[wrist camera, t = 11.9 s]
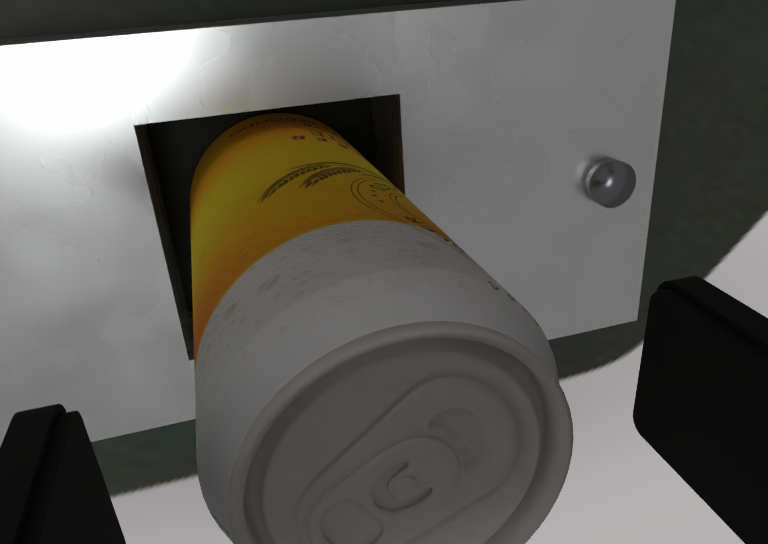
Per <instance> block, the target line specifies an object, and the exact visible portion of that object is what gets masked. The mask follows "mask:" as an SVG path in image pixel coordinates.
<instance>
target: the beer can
mask: <svg viewBox="0 0 768 544" xmlns="http://www.w3.org/2000/svg"><path fill="white" fill-rule="evenodd" d="M190 225H191V261H192V298H193V335H194V372H195V409H196V446H197V467H198V478H199V482H200V486H201V490H202V494H203V497H204V499H205V502H206V504H207V507H208V509H209V511H210V513H211V515H212V516H213V518H214V519H215V521H216V523H217V524H218V526H219V527H220V528H221V530H222V531H223V532H224V533H225V534H226V535H227V536H228V538H229V539H230V540H231V541H232V542H233V543H234V544H525V543H526V542H527V541H528V540H529V539H530V538H531V536H532V535H533V534H534V533H535V531H536V530H537V529H538V528H539V527H540V525H541V524H542V522H543V521H544V519H545V518H546V517H547V515H548V514H549V512H550V510H551V508H552V507H553V505H554V503H555V502H556V500H557V498H558V495H559V493H560V491H561V489H562V487H563V484H564V482H565V479H566V476H567V473H568V470H569V465H570V460H571V456H572V447H573V425H572V418H571V413H570V409H569V405H568V403H567V400H566V397H565V394H564V392H563V390H562V388H561V387H560V385H559V378H558V372H557V367H556V363H555V358H554V355H553V352H552V349H551V347H550V344H549V341H548V340H547V338H546V336H545V334H544V332H543V330H542V329H541V327H540V326H539V324H538V323H537V322H536V320H535V319H534V318H533V316H532V315H531V314H530V313H529V312H528V311H527V310H526V309H525V308H524V307H523V306H522V305H521V304H520V303H519V302H518V301H517V300H516V299H515V298H514V297H513V296H512V295H511V294H509V293H508V292H507V291H506V290H505V289H504V288H503V287H502V286H501V285H500V284H499V283H498V282H497V281H496V280H494V279H493V278H492V277H491V276H490V275H489V274H488V273H487V272H486V271H485V270H484V269H483V268H482V267H481V266H480V265H478V264H477V263H476V262H475V261H474V260H473V259H472V258H471V257H470V256H469V255H468V254H467V253H466V252H465V251H463V250H462V249H461V248H460V247H459V246H458V245H457V244H456V243H455V242H454V241H453V240H452V239H451V238H450V237H449V236H447V235H446V234H445V233H444V232H443V231H442V230H441V229H440V228H439V227H438V226H437V225H436V224H435V223H434V222H432V221H431V220H430V219H429V218H428V217H427V216H426V215H425V214H424V213H423V212H422V211H421V210H420V209H419V208H418V207H416V206H415V205H414V204H413V203H412V202H411V201H410V200H409V199H408V198H407V197H406V196H405V195H404V194H403V193H401V192H400V191H399V190H398V189H397V188H396V187H395V186H394V185H393V184H392V183H391V182H390V181H389V180H388V179H387V178H385V177H384V176H383V175H382V174H381V173H380V172H379V171H378V170H377V169H376V168H375V167H374V166H373V165H372V164H370V163H369V162H368V161H367V160H366V159H365V158H364V157H363V156H362V155H361V154H360V153H359V152H358V151H357V150H356V149H354V148H353V147H352V146H351V145H350V144H349V143H348V142H347V141H346V140H345V139H344V138H343V137H342V136H341V135H339V134H338V133H337V132H336V131H334V130H333V129H332V128H330V127H329V126H327V125H325V124H323V123H322V122H319V121H317V120H315V119H313V118H310V117H306V116H303V115H298V114H292V113H269V114H263V115H258V116H255V117H252V118H248V119H246V120H244V121H242V122H239V123H237V124H236V125H234V126H232V127H231V128H229V129H227V130H226V131H225V132H224V133H222V134H221V135H220V136H219V137H218V138H217V139H216V140H215V141H214V142H213V143H212V144H211V145H210V146H209V147H208V149H207V150H206V151H205V153H204V154H203V156H202V158H201V159H200V161H199V163H198V165H197V168H196V170H195V173H194V176H193V179H192V184H191V190H190Z"/></svg>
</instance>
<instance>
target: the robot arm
mask: <svg viewBox="0 0 768 544" xmlns="http://www.w3.org/2000/svg"><path fill="white" fill-rule="evenodd" d="M633 419H634V424H635V427H636V429H637V430H638V432H639V434H640V435H641V436H642V437H643V438H644V439H645V440H646V441H647V442H648V443H649V444H650V445H651V446H652V447H653V448H654V450H655V451H656V452H657V453H658V454H659V455H660V456H661V457H662V458H663V459H664V460H665V461H666V462H667V463H668V464H669V465H670V466H671V467H672V468H673V469H674V470H675V471H676V472H677V473H678V474H679V475H680V476H681V477H682V479H683V480H684V481H685V482H686V483H687V484H688V485H689V486H690V487H691V488H692V489H693V490H694V491H695V492H696V493H697V494H698V495H699V496H700V497H701V498H702V499H703V500H704V501H705V502H706V503H707V504H708V505H709V506H710V508H711V509H712V510H713V511H714V512H715V513H716V514H717V515H718V516H719V517H720V518H721V519H722V520H723V521H724V522H725V523H726V524H727V525H728V526H729V527H730V528H731V529H732V530H733V532H734V533H735V534H736V535H737V536H738V537H739V538H740V539H741V540H742V541H743V542H744V543H745V544H768V318H766V317H765V316H763V315H761V314H760V313H758V312H756V311H755V310H753V309H751V308H749V307H748V306H746V305H745V304H743V303H741V302H740V301H738V300H736V299H735V298H733V297H731V296H730V295H728V294H727V293H725V292H723V291H721V290H720V289H718V288H717V287H715V286H713V285H712V284H710V283H708V282H707V281H705V280H704V279H702V278H700V277H697V276H690V277H685V278H680V279H675V280H670V281H665V282H663V283H661V284H660V286H659V287H658V288H657V292H655V293H653V295H652V296H651V299H650V304H649V310H648V317H647V324H646V330H645V337H644V344H643V350H642V357H641V364H640V370H639V377H638V384H637V391H636V397H635V404H634V410H633ZM0 544H126V542H125V539H124V536H123V533H122V530H121V527H120V525H119V522H118V519H117V516H116V513H115V510H114V507H113V504H112V502H111V499H110V496H109V493H108V490H107V487H106V484H105V482H104V479H103V476H102V473H101V470H100V467H99V464H98V461H97V459H96V456H95V453H94V450H93V447H92V444H91V441H90V439H89V436H88V433H87V430H86V427H85V424H84V421H83V419H82V416H81V414H80V413H79V411H71V412H66V409H65V408H64V407H63V405H61V404H54V405H49V406H44V407H39V408H34V409H29V410H24V411H19V412H17V413H15V414H14V416H13V417H12V419H11V422H10V424H9V427H8V429H7V432H6V434H5V437H4V439H3V442H2V444H1V447H0Z"/></svg>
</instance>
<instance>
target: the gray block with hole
mask: <svg viewBox="0 0 768 544" xmlns="http://www.w3.org/2000/svg"><path fill="white" fill-rule="evenodd" d="M675 2H676V0H454V1H442V2H431V3H419V4H407V5H396V6H384V7H372V8H360V9H349V10H337V11H325V12H313V13H302V14H290V15H278V16H267V17H255V18H243V19H231V20H220V21H208V22H196V23H184V24H173V25H161V26H149V27H138V28H126V29H114V30H102V31H91V32H79V33H67V34H55V35H44V36H32V37H20V38H9V39H0V447H1V444H2V442H3V439H4V437H5V434H6V432H7V429H8V427H9V424H10V422H11V419H12V417H13V416H14V414H15V413H17V412H19V411H24V410H29V409H34V408H39V407H44V406H49V405H54V404H61V405H63V407H64V408H65V409H66V412H71V411H79V413H80V414H81V416H82V419H83V421H84V424H85V427H86V430H87V433H88V436H89V439H90V441H91V442H93V441H98V440H102V439H107V438H111V437H115V436H120V435H124V434H129V433H133V432H138V431H142V430H147V429H151V428H156V427H160V426H165V425H169V424H174V423H178V422H183V421H187V420H192V419H196V409H195V372H194V335H193V311H188V307H187V303H186V298H185V294H184V289H183V285H182V281H181V276H180V272H179V267H178V263H177V259H176V254H175V250H174V245H173V241H172V237H171V232H170V228H169V223H168V219H167V215H166V210H165V206H164V201H163V197H162V193H161V188H160V184H159V179H158V175H157V171H156V166H155V162H154V157H153V153H152V149H151V144H150V140H149V135H148V131H147V127H146V124H148V123H156V122H165V121H173V120H182V119H190V118H198V117H207V116H215V115H224V114H232V113H241V112H249V111H258V110H266V109H274V108H283V107H291V106H300V105H308V104H317V103H325V102H334V101H342V100H350V99H359V98H367V97H371V109H372V122H373V136H374V150H375V163H376V169H377V170H378V171H379V172H380V173H381V174H382V175H383V176H384V177H385V178H387V179H388V180H389V181H390V182H391V183H392V184H393V185H394V186H395V187H396V188H397V189H398V190H399V191H400V192H401V193H403V194H404V195H405V196H406V197H407V198H408V199H409V200H410V201H411V202H412V203H413V204H414V205H415V206H416V207H418V208H419V209H420V210H421V211H422V212H423V213H424V214H425V215H426V216H427V217H428V218H429V219H430V220H431V221H432V222H434V223H435V224H436V225H437V226H438V227H439V228H440V229H441V230H442V231H443V232H444V233H445V234H446V235H447V236H449V237H450V238H451V239H452V240H453V241H454V242H455V243H456V244H457V245H458V246H459V247H460V248H461V249H462V250H463V251H465V252H466V253H467V254H468V255H469V256H470V257H471V258H472V259H473V260H474V261H475V262H476V263H477V264H478V265H480V266H481V267H482V268H483V269H484V270H485V271H486V272H487V273H488V274H489V275H490V276H491V277H492V278H493V279H494V280H496V281H497V282H498V283H499V284H500V285H501V286H502V287H503V288H504V289H505V290H506V291H507V292H508V293H509V294H511V295H512V296H513V297H514V298H515V299H516V300H517V301H518V302H519V303H520V304H521V305H522V306H523V307H524V308H525V309H526V310H527V311H528V312H529V313H530V314H531V315H532V316H533V318H534V319H535V320H536V322H537V323H538V324H539V326H540V327H541V329H542V330H543V332H544V334H545V336H546V338H547V340H550V339H555V338H559V337H564V336H568V335H573V334H577V333H582V332H586V331H590V330H595V329H599V328H604V327H608V326H613V325H617V324H622V323H626V322H631V321H635V320H637V316H638V308H639V299H640V291H641V283H642V275H643V266H644V258H645V250H646V242H647V233H648V225H649V217H650V209H651V200H652V192H653V184H654V176H655V167H656V159H657V151H658V143H659V134H660V126H661V118H662V110H663V101H664V93H665V85H666V76H667V68H668V60H669V52H670V43H671V35H672V27H673V19H674V10H675Z"/></svg>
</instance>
